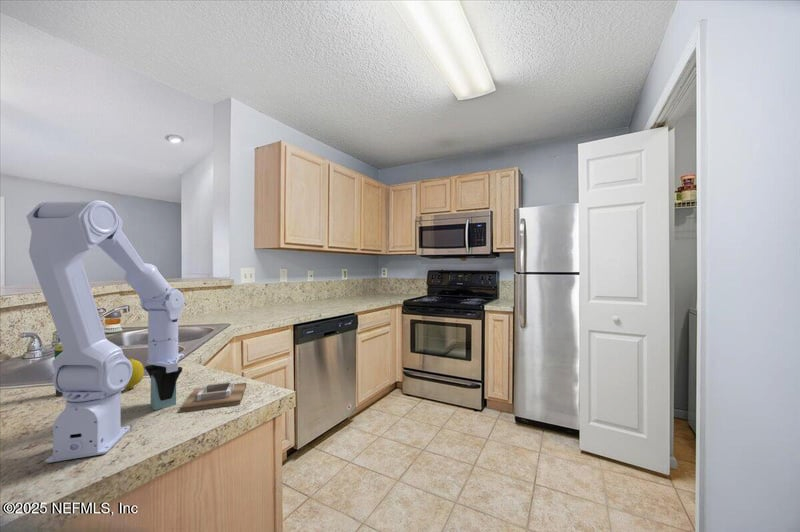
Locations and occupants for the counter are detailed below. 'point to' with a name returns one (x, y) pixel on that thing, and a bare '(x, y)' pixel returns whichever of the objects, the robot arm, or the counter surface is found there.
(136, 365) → the lemon
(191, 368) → the counter surface
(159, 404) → the square peg
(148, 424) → the counter surface
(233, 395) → the socket
